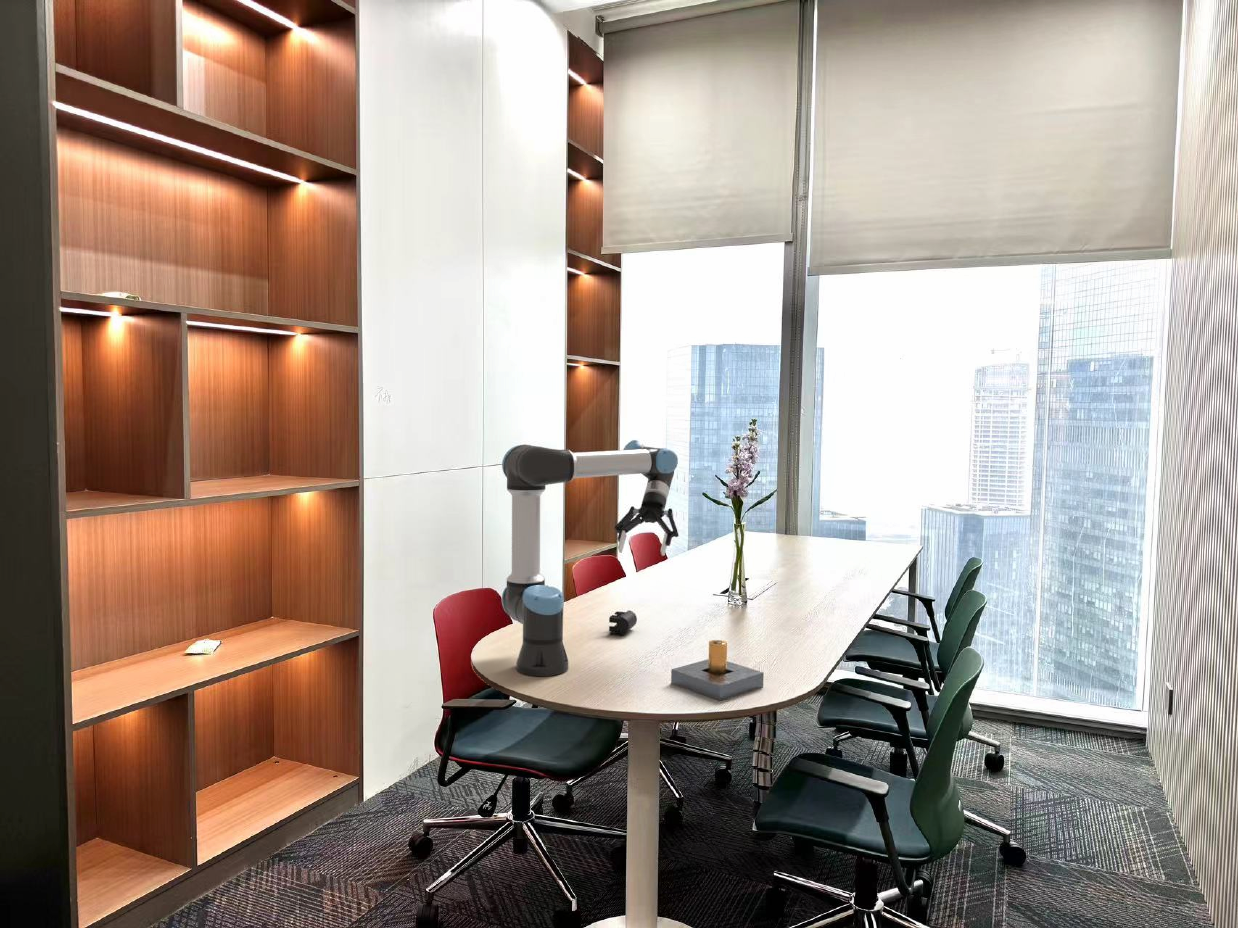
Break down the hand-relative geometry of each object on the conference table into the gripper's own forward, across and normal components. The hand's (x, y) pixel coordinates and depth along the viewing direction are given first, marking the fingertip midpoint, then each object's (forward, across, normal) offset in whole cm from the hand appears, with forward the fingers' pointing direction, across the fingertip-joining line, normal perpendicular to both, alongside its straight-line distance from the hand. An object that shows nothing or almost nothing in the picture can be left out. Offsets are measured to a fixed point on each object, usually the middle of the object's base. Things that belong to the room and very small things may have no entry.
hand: (640, 551), depth 254 cm
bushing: (+35, -28, -11) cm, 46 cm away
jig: (+35, -28, -11) cm, 46 cm away
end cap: (+6, +13, -41) cm, 44 cm away
